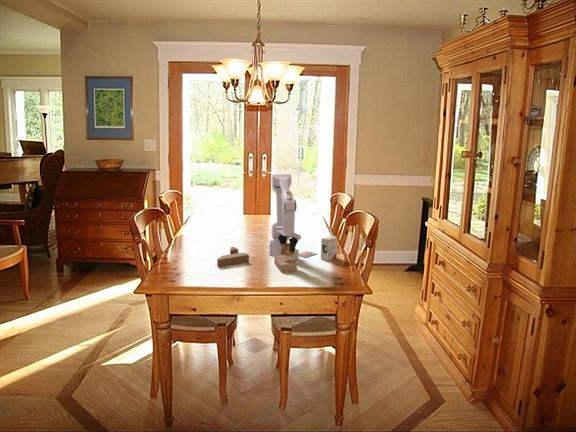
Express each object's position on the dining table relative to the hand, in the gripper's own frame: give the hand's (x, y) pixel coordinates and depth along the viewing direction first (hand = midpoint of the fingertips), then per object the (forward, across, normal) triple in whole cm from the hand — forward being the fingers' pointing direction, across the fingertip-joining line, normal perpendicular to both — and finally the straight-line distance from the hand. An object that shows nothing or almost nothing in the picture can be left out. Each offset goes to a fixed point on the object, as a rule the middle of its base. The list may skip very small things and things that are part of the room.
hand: (287, 250), depth 246 cm
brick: (+9, -1, -1) cm, 9 cm away
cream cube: (+8, -8, +13) cm, 17 cm away
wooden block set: (+9, -29, -14) cm, 33 cm away
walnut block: (+2, 0, 0) cm, 2 cm away
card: (+8, -7, +24) cm, 26 cm away
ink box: (+9, +6, +27) cm, 29 cm away
